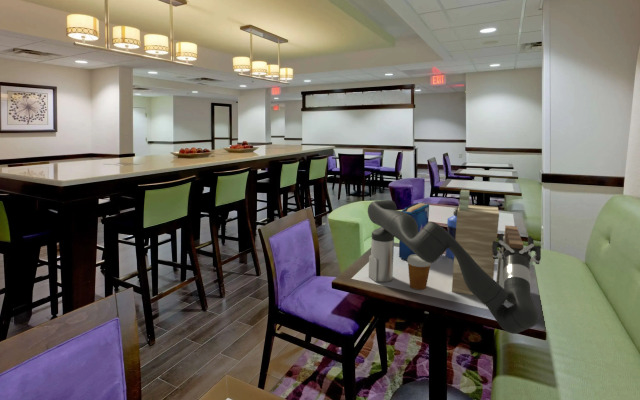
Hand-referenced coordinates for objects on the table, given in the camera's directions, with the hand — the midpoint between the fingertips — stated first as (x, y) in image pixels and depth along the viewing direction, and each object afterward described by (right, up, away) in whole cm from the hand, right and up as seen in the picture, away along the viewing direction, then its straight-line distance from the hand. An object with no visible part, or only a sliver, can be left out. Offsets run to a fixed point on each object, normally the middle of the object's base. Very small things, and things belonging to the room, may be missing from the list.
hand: (515, 236), depth 127 cm
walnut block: (+3, -4, +7) cm, 8 cm away
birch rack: (-7, -22, +19) cm, 30 cm away
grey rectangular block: (+4, -23, +14) cm, 27 cm away
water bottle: (0, -16, +56) cm, 58 cm away
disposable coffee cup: (-28, -22, +21) cm, 41 cm away
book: (-21, -15, +58) cm, 64 cm away
